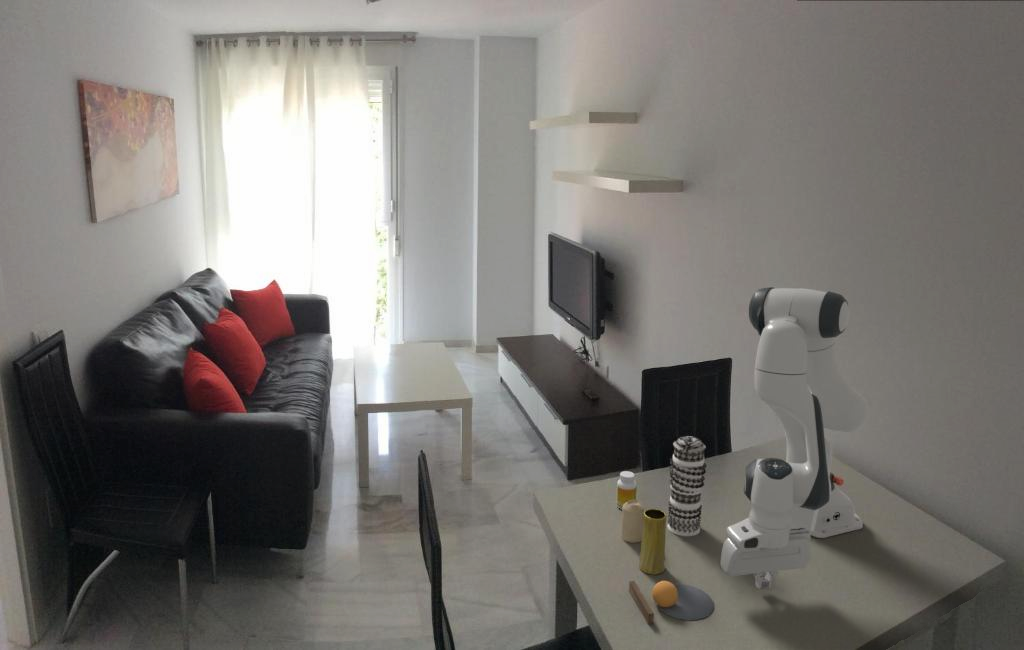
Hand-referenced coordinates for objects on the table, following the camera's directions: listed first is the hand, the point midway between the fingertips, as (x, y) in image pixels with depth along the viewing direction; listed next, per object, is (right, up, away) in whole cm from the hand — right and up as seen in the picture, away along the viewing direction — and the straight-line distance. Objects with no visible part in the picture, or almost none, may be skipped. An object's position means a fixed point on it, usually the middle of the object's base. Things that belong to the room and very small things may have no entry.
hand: (762, 586), depth 169 cm
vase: (-23, +1, +10) cm, 25 cm away
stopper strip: (-28, -3, -5) cm, 29 cm away
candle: (-26, +4, +23) cm, 35 cm away
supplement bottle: (-25, +8, +39) cm, 47 cm away
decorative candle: (-12, +5, +28) cm, 31 cm away
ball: (-23, 0, -5) cm, 24 cm away
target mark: (-19, -2, -3) cm, 19 cm away
